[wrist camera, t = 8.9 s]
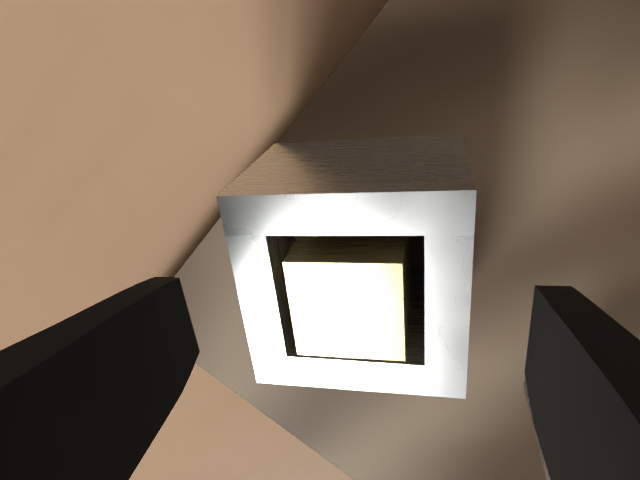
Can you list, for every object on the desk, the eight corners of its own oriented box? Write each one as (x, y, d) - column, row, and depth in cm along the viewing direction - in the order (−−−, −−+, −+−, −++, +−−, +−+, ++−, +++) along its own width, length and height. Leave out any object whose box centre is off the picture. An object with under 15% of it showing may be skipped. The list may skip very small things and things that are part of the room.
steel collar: (462, 133, 11) (476, 190, 8) (456, 298, 14) (466, 398, 10) (274, 143, 13) (216, 196, 9) (297, 294, 15) (257, 382, 11)
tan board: (949, 268, 11) (991, 289, 11) (430, 513, 20) (430, 536, 19) (539, -189, 9) (550, -209, 8) (153, 306, 18) (139, 321, 17)
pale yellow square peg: (410, 185, 12) (402, 263, 9) (411, 261, 13) (405, 360, 10) (324, 187, 13) (282, 262, 9) (332, 261, 14) (297, 354, 10)
